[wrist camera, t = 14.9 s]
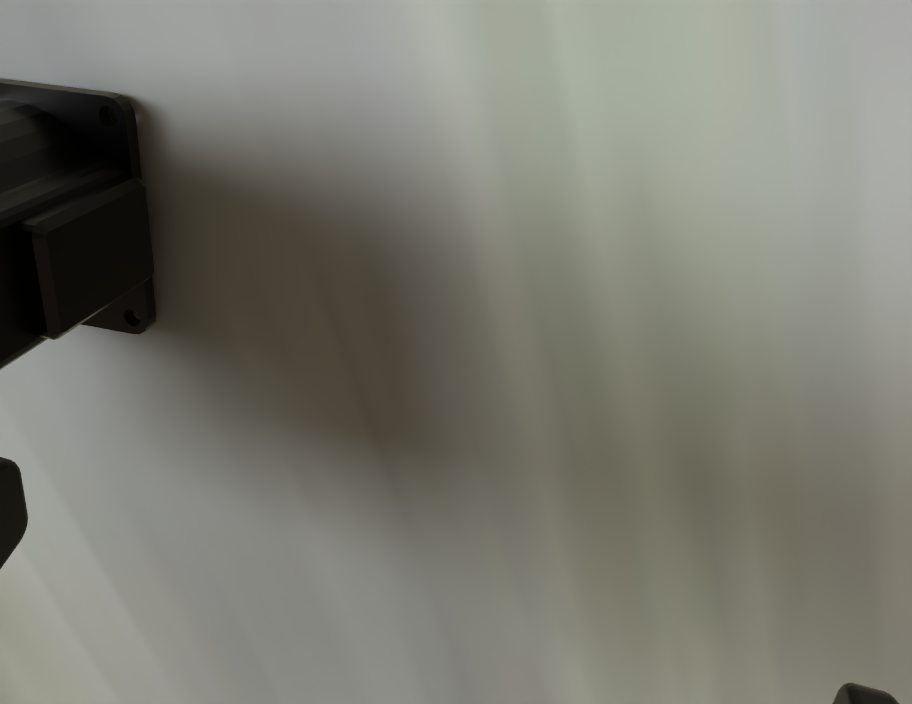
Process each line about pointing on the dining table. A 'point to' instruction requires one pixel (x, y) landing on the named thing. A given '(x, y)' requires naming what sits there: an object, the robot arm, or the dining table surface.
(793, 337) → the dining table surface
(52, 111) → the robot arm
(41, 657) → the dining table surface
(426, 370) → the dining table surface
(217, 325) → the dining table surface
